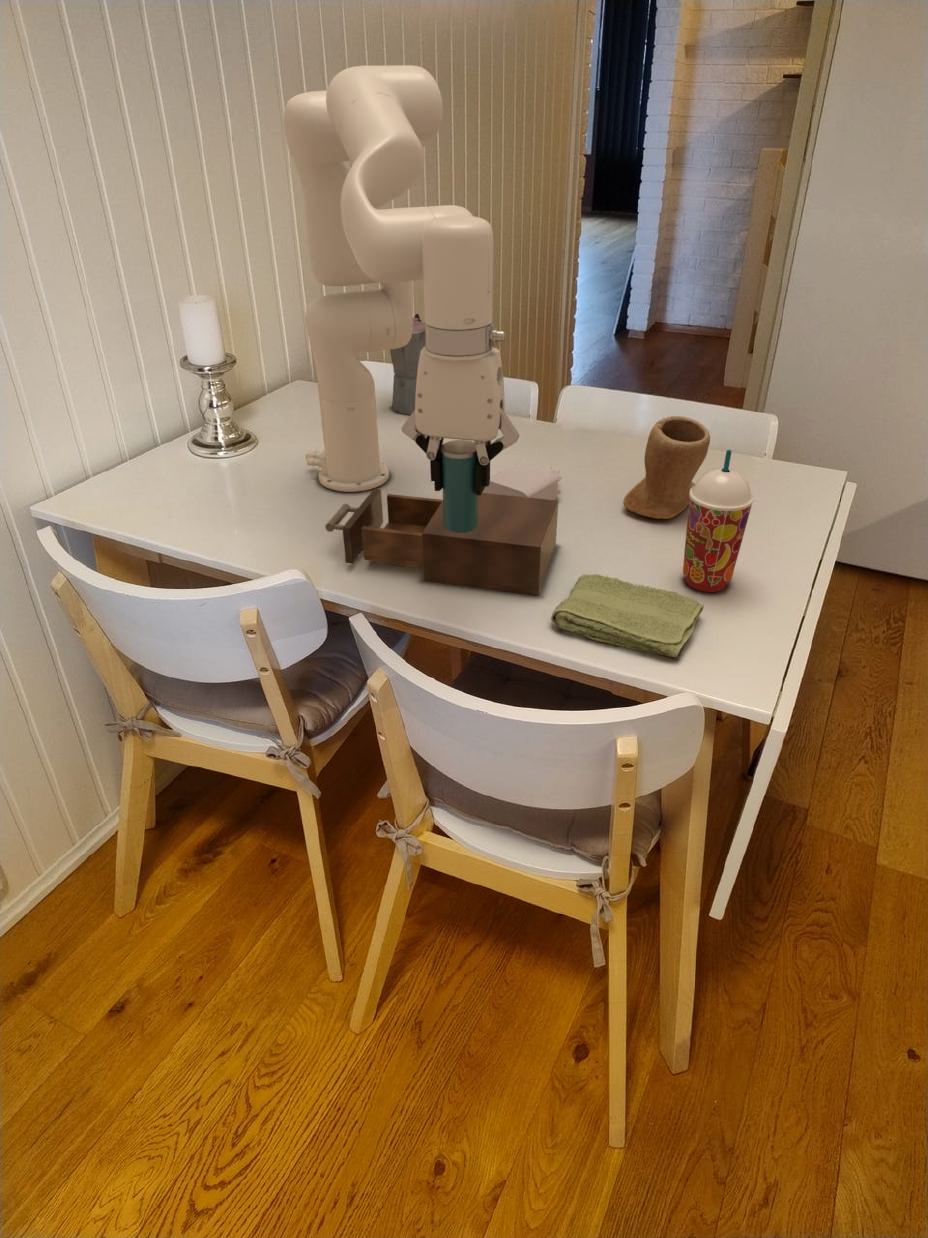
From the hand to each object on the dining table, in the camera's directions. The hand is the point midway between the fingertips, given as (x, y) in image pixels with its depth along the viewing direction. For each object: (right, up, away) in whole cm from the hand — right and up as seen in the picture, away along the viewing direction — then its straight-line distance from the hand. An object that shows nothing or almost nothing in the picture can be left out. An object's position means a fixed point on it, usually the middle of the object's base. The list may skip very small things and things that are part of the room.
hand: (460, 487), depth 104 cm
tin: (0, -4, +3) cm, 5 cm away
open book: (+12, +5, +40) cm, 42 cm away
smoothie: (+35, -11, +16) cm, 40 cm away
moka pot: (-11, +30, +78) cm, 84 cm away
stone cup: (+34, +3, +37) cm, 51 cm away
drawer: (-10, -5, +24) cm, 26 cm away
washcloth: (+22, -17, +8) cm, 29 cm away
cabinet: (+5, -8, +21) cm, 23 cm away
